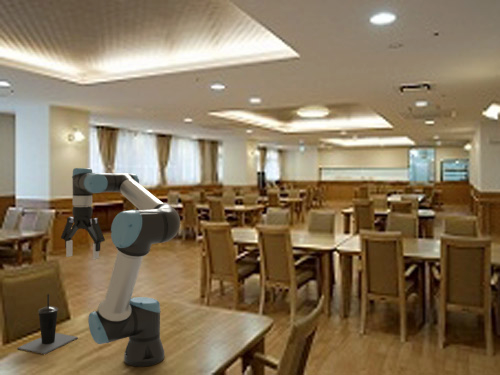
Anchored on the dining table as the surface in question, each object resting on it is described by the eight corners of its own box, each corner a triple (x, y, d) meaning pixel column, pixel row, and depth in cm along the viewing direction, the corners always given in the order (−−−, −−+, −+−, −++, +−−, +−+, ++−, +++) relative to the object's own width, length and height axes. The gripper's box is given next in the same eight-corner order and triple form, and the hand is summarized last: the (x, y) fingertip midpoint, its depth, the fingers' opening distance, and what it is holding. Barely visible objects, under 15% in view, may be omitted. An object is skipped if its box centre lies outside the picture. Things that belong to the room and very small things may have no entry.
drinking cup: (61, 338, 183) (61, 292, 183) (52, 346, 176) (51, 297, 175) (44, 338, 184) (44, 291, 183) (34, 345, 176) (34, 296, 176)
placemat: (77, 338, 186) (77, 336, 186) (44, 354, 169) (44, 353, 169) (52, 333, 191) (52, 332, 191) (17, 349, 174) (17, 347, 174)
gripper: (113, 206, 174) (113, 258, 175) (65, 204, 183) (65, 253, 184) (101, 207, 167) (101, 262, 168) (51, 205, 176) (51, 256, 177)
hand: (82, 257), depth 176 cm, fingers open, 13 cm apart
